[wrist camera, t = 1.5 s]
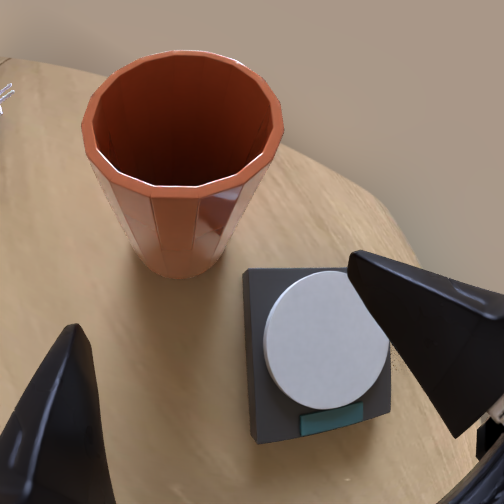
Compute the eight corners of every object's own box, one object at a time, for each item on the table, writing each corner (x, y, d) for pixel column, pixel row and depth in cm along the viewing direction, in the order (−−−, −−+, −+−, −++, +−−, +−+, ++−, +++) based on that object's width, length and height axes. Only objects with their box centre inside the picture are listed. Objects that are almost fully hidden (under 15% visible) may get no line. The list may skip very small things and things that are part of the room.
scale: (376, 408, 21) (396, 413, 18) (250, 435, 18) (260, 448, 15) (369, 271, 24) (389, 264, 21) (242, 273, 21) (251, 265, 18)
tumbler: (227, 279, 21) (294, 203, 8) (131, 278, 19) (60, 199, 7) (224, 191, 22) (273, 59, 10) (137, 189, 21) (109, 52, 9)
